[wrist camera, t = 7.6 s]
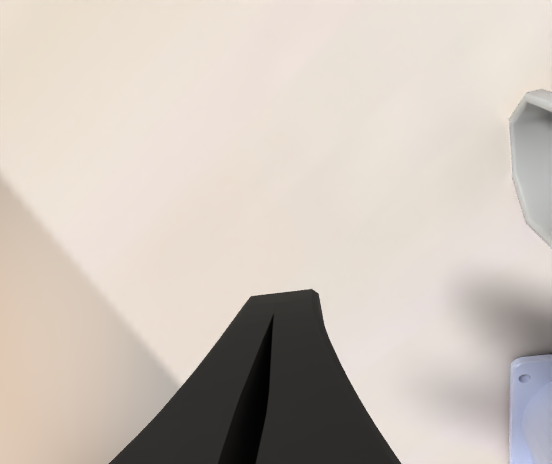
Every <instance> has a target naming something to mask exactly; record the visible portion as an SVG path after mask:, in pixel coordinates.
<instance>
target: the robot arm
mask: <svg viewBox="0 0 552 464" xmlns="http://www.w3.org/2000/svg"><path fill="white" fill-rule="evenodd" d="M524 374H526V375H524ZM521 375H524V376H521ZM520 376H521V377H520ZM109 464H401V462H400V461H399V459H398V458H397V457H396V455H395V454H394V452H393V451H392V449H391V448H390V446H389V445H388V443H387V442H386V440H385V439H384V437H383V436H382V434H381V433H380V431H379V430H378V428H377V427H376V425H375V424H374V422H373V420H372V419H371V417H370V416H369V414H368V412H367V411H366V409H365V407H364V406H363V404H362V402H361V401H360V399H359V397H358V395H357V394H356V392H355V390H354V388H353V386H352V385H351V383H350V381H349V379H348V377H347V375H346V373H345V371H344V370H343V368H342V366H341V364H340V361H339V359H338V357H337V355H336V353H335V350H334V348H333V346H332V344H331V342H330V339H329V337H328V334H327V332H326V329H325V326H324V321H323V315H322V310H321V305H320V299H319V294H318V293H317V292H315V291H314V290H313V289H309V290H300V291H292V292H283V293H275V294H266V295H258V296H251V297H250V298H249V300H248V301H247V302H246V303H245V305H244V306H243V307H242V309H241V310H240V311H239V313H238V314H237V315H236V317H235V318H234V320H233V321H232V322H231V324H230V325H229V326H228V328H227V329H226V331H225V332H224V333H223V335H222V336H221V337H220V339H219V340H218V341H217V343H216V344H215V345H214V347H213V348H212V349H211V350H210V352H209V353H208V354H207V356H206V357H205V358H204V360H203V361H202V362H201V363H200V365H199V366H198V367H197V369H196V370H195V371H194V372H193V374H192V375H191V376H190V377H189V378H188V380H187V381H186V382H185V383H184V384H183V385H182V387H181V388H180V389H179V390H178V391H177V393H176V394H175V395H174V396H173V397H172V398H171V400H170V401H169V402H168V403H167V404H166V405H165V406H164V408H163V409H162V410H161V411H160V412H159V413H158V414H157V416H156V417H155V418H154V419H153V420H152V421H151V422H150V423H149V424H148V425H147V426H146V427H145V428H144V429H143V430H142V431H141V432H140V433H139V435H138V436H137V437H136V438H134V440H132V441H131V442H130V443H129V444H128V445H127V446H126V447H125V448H124V449H123V450H122V451H121V452H120V453H119V454H118V455H117V456H116V457H115V458H114V459H113V460H112V461H111V462H110V463H109ZM509 464H552V354H548V355H538V356H528V357H520V358H517V359H515V360H514V361H513V362H512V363H511V366H510V419H509Z"/></svg>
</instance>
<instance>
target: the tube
mask: <svg viewBox="0 0 552 464" xmlns="http://www.w3.org/2000/svg"><path fill="white" fill-rule="evenodd" d="M509 129H510V146H511V163H512V179H513V182H514V186H515V189H516V192H517V195H518V199H519V202H520V205H521V208H522V212H523V215H524V218H525V222H526V224H527V225H528V226H529V227H530V228H531V229H532V230H533V231H534V232H535V233H536V234H537V235H538V236H539V237H541V238H542V239H543V240H544V241H545V242H546V243H547V244H548V245H549V246H550V247H551V248H552V92H550V91H547V90H544V89H539V90H535V91H531V92H527V93H526V94H525V96H524V97H523V99H522V100H521V101H520V103H519V104H518V106H517V107H516V109H515V110H514V112H513V113H512V115H511V116H510V118H509Z"/></svg>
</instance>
